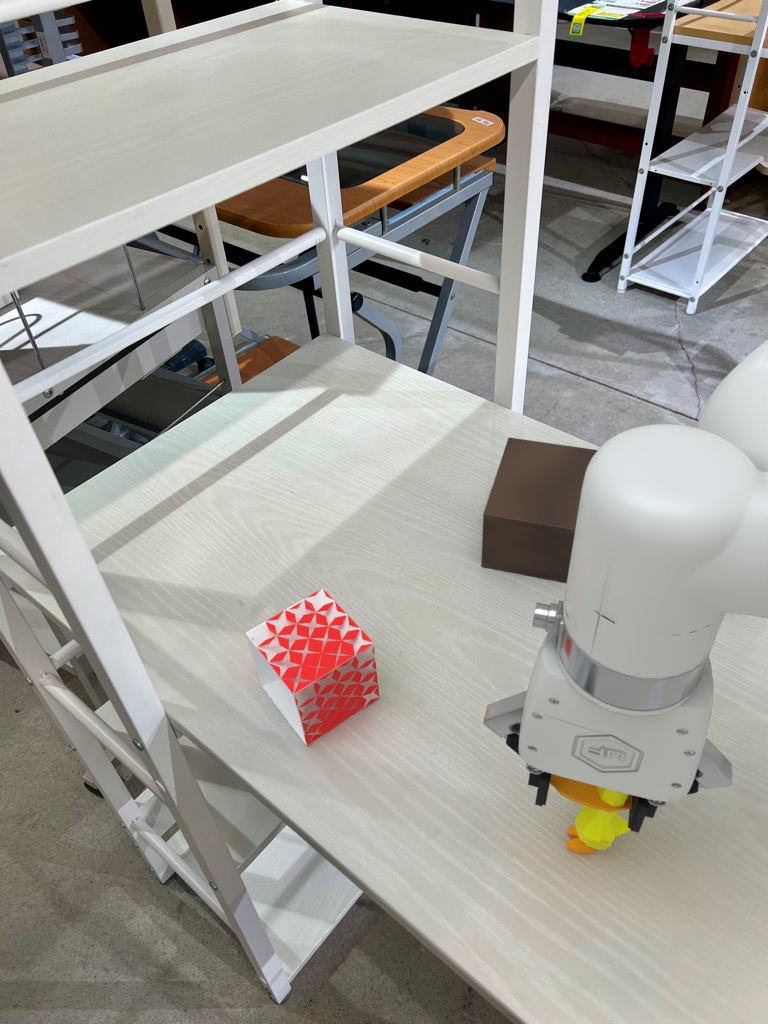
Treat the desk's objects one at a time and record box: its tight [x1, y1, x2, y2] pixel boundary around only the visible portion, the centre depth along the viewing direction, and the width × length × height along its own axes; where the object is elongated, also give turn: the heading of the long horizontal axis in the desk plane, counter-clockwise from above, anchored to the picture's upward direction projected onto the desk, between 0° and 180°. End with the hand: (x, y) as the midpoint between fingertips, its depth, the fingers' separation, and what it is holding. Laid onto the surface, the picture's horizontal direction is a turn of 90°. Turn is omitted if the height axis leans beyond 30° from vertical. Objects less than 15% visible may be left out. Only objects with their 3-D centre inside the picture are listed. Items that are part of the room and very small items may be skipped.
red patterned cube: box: [244, 587, 382, 747], centre depth 65 cm, size 8×8×8 cm
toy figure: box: [550, 774, 632, 854], centre depth 52 cm, size 7×4×12 cm, turn 76°
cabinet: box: [480, 436, 599, 584], centre depth 77 cm, size 15×13×8 cm
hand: (588, 797), depth 52 cm, fingers closed on toy figure, 5 cm apart
